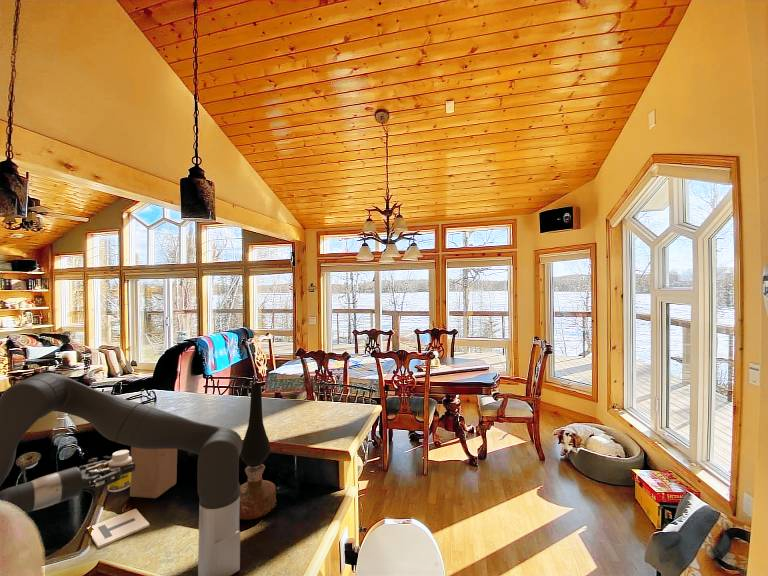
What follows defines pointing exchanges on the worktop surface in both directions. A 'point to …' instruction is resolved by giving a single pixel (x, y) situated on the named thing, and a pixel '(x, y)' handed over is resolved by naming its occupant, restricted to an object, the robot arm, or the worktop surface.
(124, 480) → the supplement bottle
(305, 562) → the worktop surface
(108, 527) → the letter board
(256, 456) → the oil lamp
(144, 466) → the wooden block
